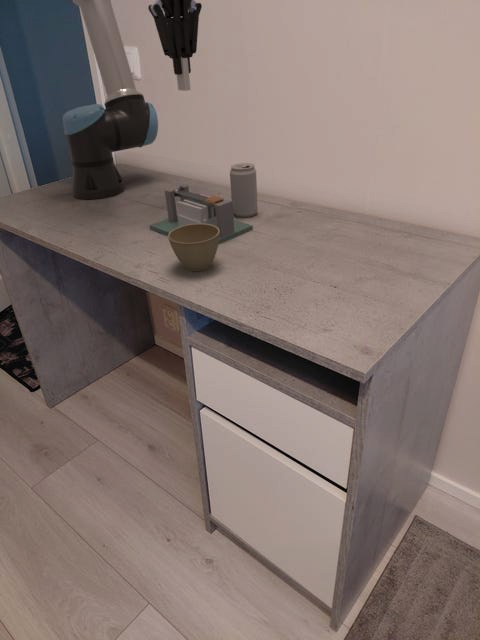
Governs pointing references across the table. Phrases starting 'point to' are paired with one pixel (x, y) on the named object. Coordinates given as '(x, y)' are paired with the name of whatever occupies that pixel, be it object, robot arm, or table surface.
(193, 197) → the grey long bar
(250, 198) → the beverage can
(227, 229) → the board
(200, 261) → the flower pot
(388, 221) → the table surface
